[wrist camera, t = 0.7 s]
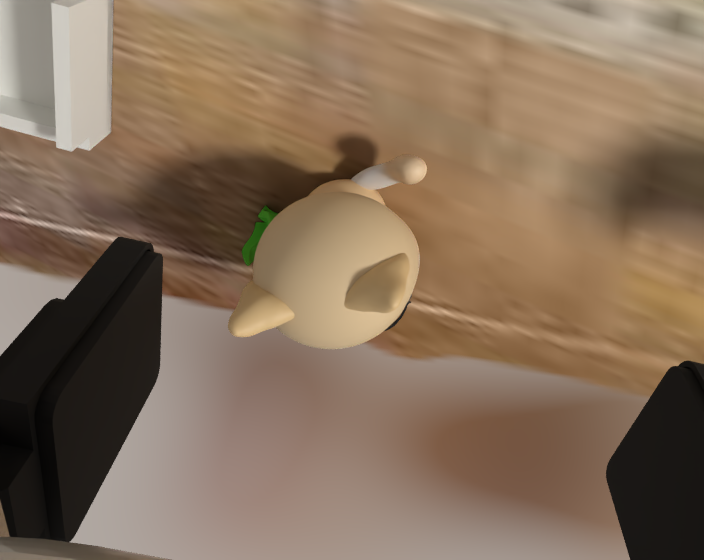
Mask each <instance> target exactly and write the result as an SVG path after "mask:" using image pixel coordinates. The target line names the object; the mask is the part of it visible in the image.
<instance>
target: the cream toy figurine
mask: <svg viewBox="0 0 704 560" xmlns="http://www.w3.org/2000/svg"><path fill="white" fill-rule="evenodd" d="M426 172H427V166H426V164H425V162H424V161H423V160H422V159H421V158H419V157H417V156H414V155H409V154H405V155H400V156H398V157H396V158H394V159H392V160H391V161H389V162H386V163H382V164H379V165H375V166H372V167H369V168H367V169H364V170H363V171H361V172H359V173H358V174H357V175H355V176H354V177H353V178H352V179H351V180H348V179H341V180H334V181H330V182H327V183H324V184H322V185H320V186H319V187H317V188H316V189H314V190H313V191H312V192H311V193H310V194H309V195H308V197H305V198H303V199H300V200H298V201H296V202H294V203H293V204H291V205H289V206H288V207H286V208H285V209H284V210H282V211H281V212H280V213H279V214H278V213H275V212H273V211H271V210H270V209H269V208H268V207H267V206H265V207H264V208H263V209H262V211H261V212H260V213H259V215H258V217H259V218H260V219H261V220H262V221H264V222H263V223H262V222H256V223H255V229H254V231H253V233H252V235H251V237H250V238H249V240H248V241H247V243H246V244H245V245H244V247H243V249H242V255H243V259H244V262H245V263H246V265H247V266H249V265H250V264H251V263H252V262H253V261H254V263H253V280H252V281H250V282H249V283H248V284H247V285H246V286H245V288H244V290H243V291H242V294H241V297H240V300H239V303H238V305H237V307H236V309H235V310H234V312H233V313H232V315H231V317H230V319H229V323H228V328H229V331H230V333H231V334H233V335H234V336H236V337H249V336H252V335H255V334H257V333H259V332H262V331H264V330H267V329H271V328H274V327H276V328H277V329H278V330H279V331H280V332H282V333H283V334H284V335H286V336H287V337H289V338H291V339H292V340H295V341H296V342H299V343H301V344H304V345H307V346H311V347H315V348H322V349H340V348H347V347H352V346H355V345H358V344H361V343H364V342H366V341H368V340H370V339H372V338H374V337H376V336H377V335H379V334H380V333H382V332H383V331H386V330H388V329H390V328H392V327H393V326H395V325H396V324H397V322H398V321H399V320H400V319H401V318H402V316H403V314H404V312H405V310H406V308H407V305H408V304H409V303H411V301H409V300H410V298H411V296H412V292H413V289H414V286H415V283H416V280H417V276H418V271H419V262H420V256H419V248H418V244H417V241H416V239H415V237H414V235H413V233H412V231H411V230H410V228H409V227H408V226H407V224H406V223H405V222H404V221H403V220H402V219H401V218H400V217H399V216H397V215H396V214H395V213H394V212H393V211H392V210H390V209H389V208H388V207H386V206H385V203H384V201H383V199H382V197H381V195H380V194H379V193H378V192H377V191H376V189H380V188H384V187H387V186H390V185H393V184H396V183H404V184H409V185H411V184H416V183H418V182H419V181H421V180H422V179H423V178H424V177H425V175H426ZM403 309H404V310H403ZM402 311H403V312H402ZM401 312H402V314H401ZM400 314H401V316H400V317H399V318H398V316H399V315H400ZM397 318H398V319H397ZM396 319H397V320H396ZM395 320H396V321H395Z"/></svg>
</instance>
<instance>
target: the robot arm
mask: <svg viewBox="0 0 704 560" xmlns="http://www.w3.org/2000/svg"><path fill="white" fill-rule="evenodd" d="M162 273H163V257H162V255H161V254H159V253H155V252H154V249H153V245H152V244H151V243H147V242H142V241H138V240H133V239H129V238H124V237H118V238H117V239H115V240H114V242H113V243H112V244H111V245H110V246H109V248H108V249H107V250H106V251H105V252H104V253H103V255H102V256H101V257H100V258H99V259H98V261H97V262H96V263H95V264H94V265H93V266H92V268H91V269H90V270H89V271H88V272H87V274H86V275H85V276H84V277H83V278H82V279H81V281H80V282H79V283H78V284H77V285H76V287H75V288H74V289H73V290H72V291H71V292H70V294H69V295H68V296H67V297H66V298H65V300H63V299H58V298H56V299H53V300H50V301H49V302H48V303H47V304H46V305H45V306H44V307H43V308H42V309H41V311H40V312H39V313H38V314H37V315H36V316H35V317H34V319H33V320H32V321H31V322H30V323H29V324H28V325H27V326H26V327H25V329H24V330H23V331H22V332H21V333H20V334H19V335H18V337H17V338H16V339H15V340H14V341H13V343H11V344H10V346H9V347H8V348H7V349H6V350H5V351H4V352H3V354H2V355H1V356H0V560H170V559H165V558H159V557H154V556H148V555H143V554H137V553H132V552H126V551H121V550H115V549H110V548H105V547H99V546H92V545H85V544H78V543H70V541H71V540H72V539H73V537H74V536H75V534H76V532H77V531H78V529H79V527H80V525H81V523H82V521H83V519H84V517H85V515H86V514H87V512H88V510H89V508H90V506H91V504H92V502H93V500H94V498H95V497H96V494H97V493H98V491H99V489H100V487H101V485H102V483H103V481H104V479H105V478H106V475H107V474H108V472H109V470H110V468H111V466H112V464H113V462H114V460H115V459H116V457H117V455H118V453H119V451H120V449H121V447H122V445H123V444H124V442H125V440H126V438H127V436H128V434H129V432H130V430H131V428H132V427H133V425H134V423H135V421H136V419H137V417H138V415H139V413H140V411H141V409H142V408H143V406H144V404H145V402H146V400H147V398H148V396H149V394H150V392H151V390H152V389H153V387H154V385H155V383H156V380H157V377H158V374H159V369H160V347H161V346H160V345H161V311H162ZM606 478H607V483H608V486H609V489H610V493H611V496H612V500H613V503H614V506H615V510H616V513H617V516H618V520H619V523H620V526H621V530H622V533H623V536H624V540H625V543H626V547H627V550H628V553H629V557H630V560H704V364H701V363H697V362H692V361H684V362H682V363H681V364H680V365H679V366H673V367H671V368H670V369H669V370H668V371H667V372H666V374H665V376H664V377H663V379H662V380H661V382H660V383H659V385H658V386H657V388H656V389H655V391H654V392H653V394H652V396H651V397H650V399H649V400H648V402H647V403H646V405H645V406H644V408H643V409H642V411H641V412H640V414H639V416H638V417H637V419H636V420H635V422H634V423H633V425H632V426H631V428H630V429H629V431H628V433H627V434H626V436H625V437H624V439H623V440H622V442H621V443H620V445H619V446H618V448H617V449H616V451H615V453H614V454H613V456H612V457H611V459H610V461H609V463H608V465H607V470H606Z"/></svg>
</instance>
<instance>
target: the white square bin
mask: <svg viewBox="0 0 704 560" xmlns="http://www.w3.org/2000/svg"><path fill="white" fill-rule="evenodd" d="M112 51H113V0H0V127H4V128H7V129H11V130H15V131H19V132H22V133H26V134H30V135H33V136H37V137H41V138H45V139H48V140H52V141H56V147H57V148H60V149H64V150H68V151H73V150H74V149H75V148H77V147H78V148H82V149H85V150H91V149H92V148H93V147H94V146H95V145H97V144H98V143H99V142H100V141H101V140H102V139H104V138H105V137H106V136H107V135H108V134H110V133H111V105H112Z"/></svg>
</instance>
